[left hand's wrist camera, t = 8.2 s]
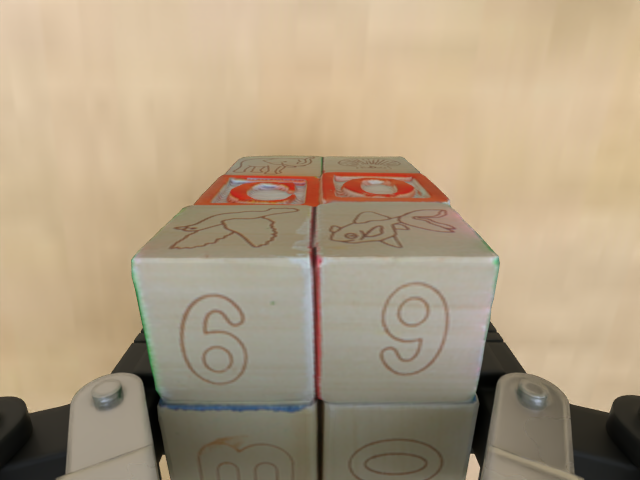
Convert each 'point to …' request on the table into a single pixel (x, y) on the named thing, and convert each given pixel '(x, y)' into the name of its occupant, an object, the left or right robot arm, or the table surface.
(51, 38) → the table surface
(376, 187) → the stack of blocks
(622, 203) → the table surface
